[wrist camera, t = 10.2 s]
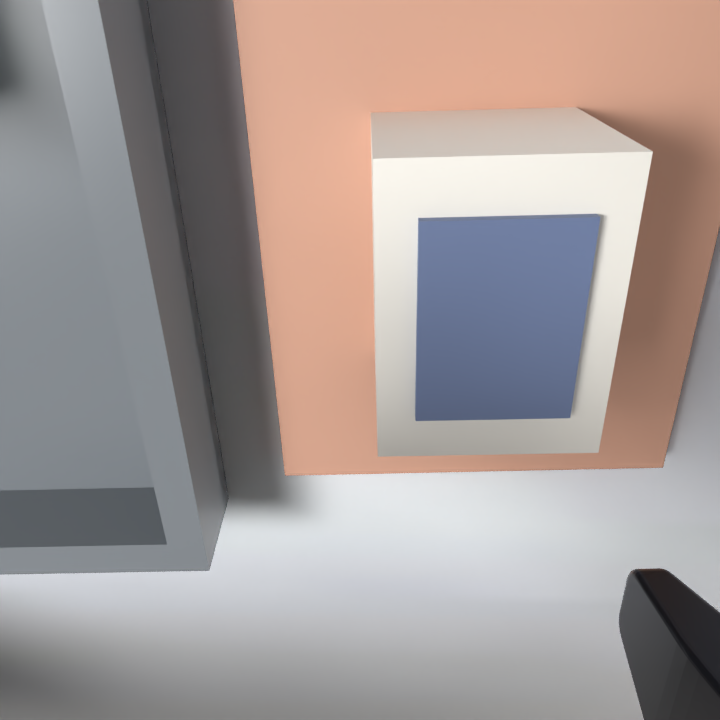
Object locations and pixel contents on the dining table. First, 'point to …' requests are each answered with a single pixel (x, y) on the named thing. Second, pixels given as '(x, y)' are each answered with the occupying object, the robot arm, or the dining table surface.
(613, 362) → the labelled box
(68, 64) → the parts bin
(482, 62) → the pad
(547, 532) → the dining table surface
